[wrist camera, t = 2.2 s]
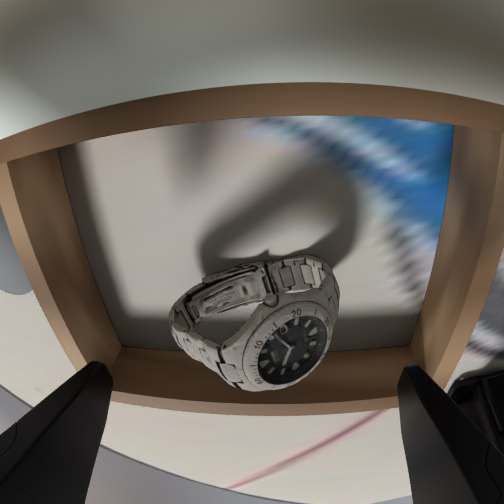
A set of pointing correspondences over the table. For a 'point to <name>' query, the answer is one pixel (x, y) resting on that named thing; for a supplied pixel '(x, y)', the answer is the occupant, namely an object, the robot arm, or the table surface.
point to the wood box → (246, 106)
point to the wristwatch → (263, 321)
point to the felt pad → (11, 264)
